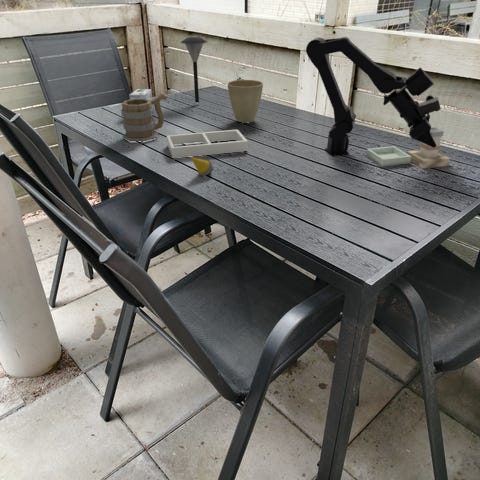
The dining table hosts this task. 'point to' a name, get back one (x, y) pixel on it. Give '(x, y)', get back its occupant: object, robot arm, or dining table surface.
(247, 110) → the plant pot
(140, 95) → the light bulb box
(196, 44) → the solar garden light
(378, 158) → the tray
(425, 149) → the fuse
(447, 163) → the collar block
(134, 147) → the dining table surface
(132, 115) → the tankard
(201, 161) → the yellow tapered piece
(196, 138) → the parts bin
